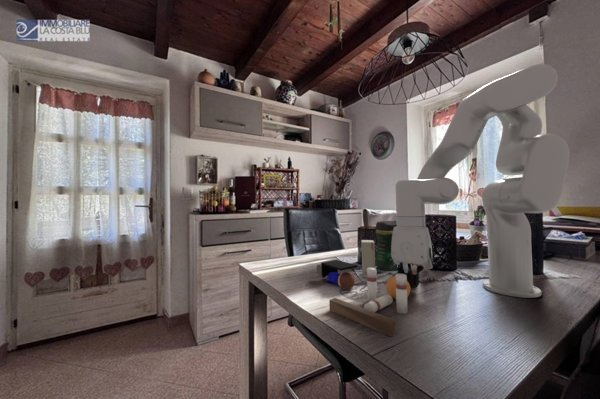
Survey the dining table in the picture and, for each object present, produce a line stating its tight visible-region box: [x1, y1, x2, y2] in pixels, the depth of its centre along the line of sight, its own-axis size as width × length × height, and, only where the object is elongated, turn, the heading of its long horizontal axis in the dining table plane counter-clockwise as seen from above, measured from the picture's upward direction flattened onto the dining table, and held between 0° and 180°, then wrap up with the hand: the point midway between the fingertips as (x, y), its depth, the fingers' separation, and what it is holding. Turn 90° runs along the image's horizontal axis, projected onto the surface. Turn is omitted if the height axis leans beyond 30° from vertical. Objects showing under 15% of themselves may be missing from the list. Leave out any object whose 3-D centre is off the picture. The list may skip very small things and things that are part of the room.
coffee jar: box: [375, 220, 398, 271], centre depth 96 cm, size 10×8×19 cm
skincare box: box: [360, 239, 376, 279], centre depth 87 cm, size 6×4×12 cm
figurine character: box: [316, 259, 358, 290], centre depth 79 cm, size 7×8×15 cm
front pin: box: [363, 293, 394, 313], centre depth 59 cm, size 2×2×8 cm
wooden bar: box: [328, 297, 397, 338], centre depth 54 cm, size 2×16×2 cm, turn 40°
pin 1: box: [366, 267, 378, 303], centre depth 64 cm, size 2×2×8 cm
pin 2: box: [395, 273, 409, 315], centre depth 58 cm, size 2×2×8 cm
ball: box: [385, 275, 411, 300], centre depth 65 cm, size 6×6×6 cm
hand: (412, 286), depth 70 cm, fingers closed
